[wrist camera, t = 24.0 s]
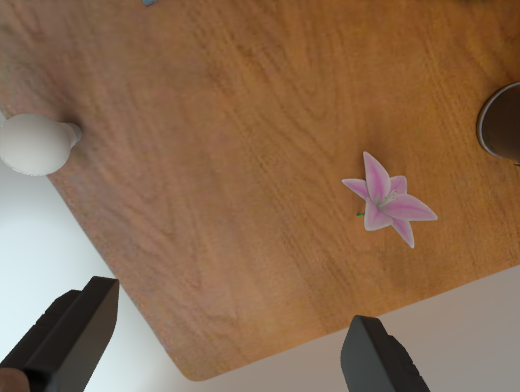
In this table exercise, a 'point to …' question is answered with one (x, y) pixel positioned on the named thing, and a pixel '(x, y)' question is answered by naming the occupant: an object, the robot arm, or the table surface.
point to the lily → (388, 200)
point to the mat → (148, 2)
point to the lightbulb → (37, 143)
